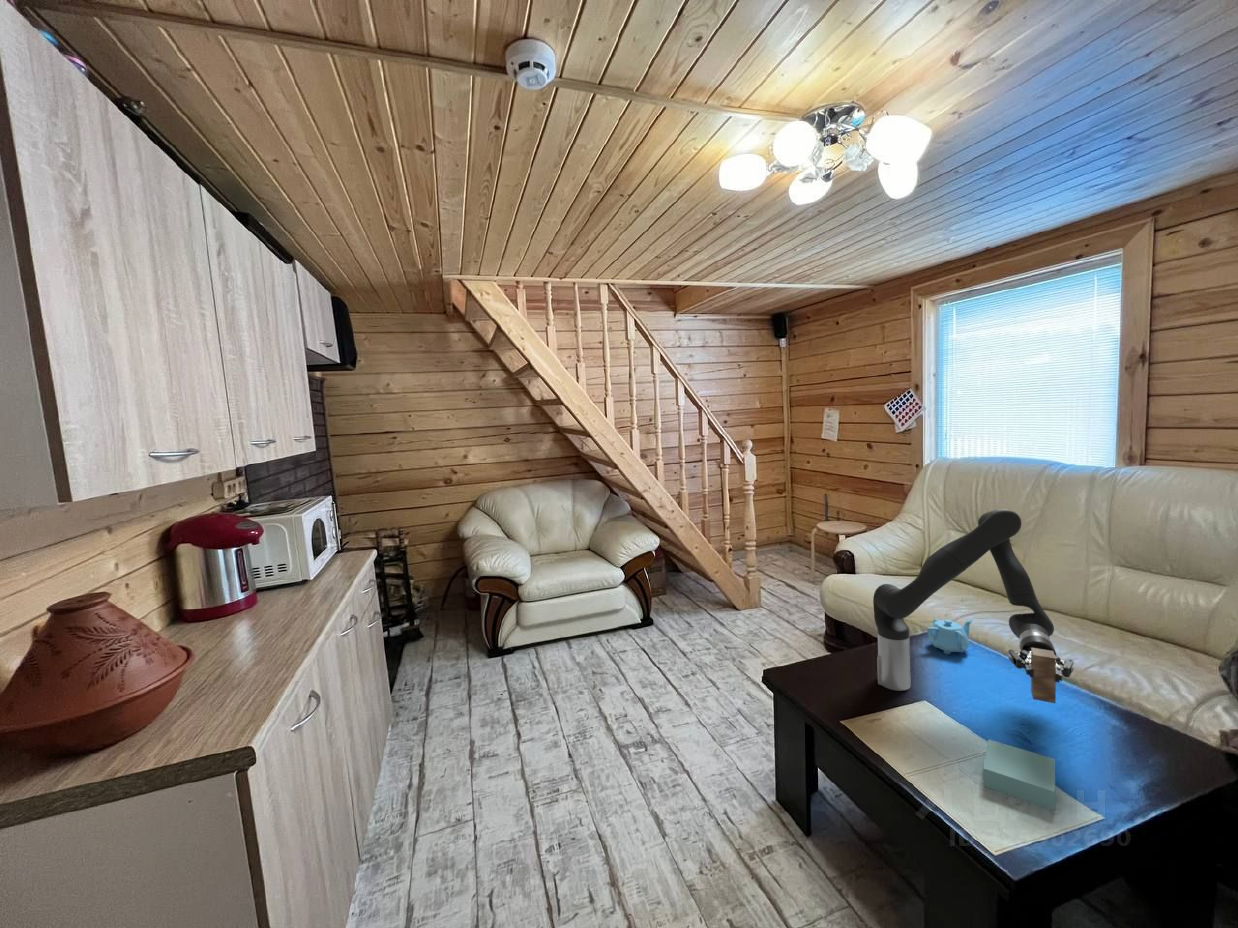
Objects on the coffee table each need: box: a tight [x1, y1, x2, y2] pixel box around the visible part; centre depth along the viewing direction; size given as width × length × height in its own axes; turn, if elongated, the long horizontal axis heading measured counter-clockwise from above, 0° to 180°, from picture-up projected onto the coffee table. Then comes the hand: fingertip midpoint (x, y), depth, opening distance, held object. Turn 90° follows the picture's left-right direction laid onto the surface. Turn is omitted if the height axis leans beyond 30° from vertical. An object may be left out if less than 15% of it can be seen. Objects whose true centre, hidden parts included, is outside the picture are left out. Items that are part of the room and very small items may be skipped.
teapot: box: [926, 618, 974, 655], centre depth 185 cm, size 13×14×11 cm
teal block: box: [982, 739, 1056, 812], centre depth 120 cm, size 13×13×5 cm
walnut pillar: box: [1030, 648, 1057, 705], centre depth 128 cm, size 4×4×12 cm
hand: (1044, 676), depth 125 cm, fingers closed on walnut pillar, 4 cm apart
